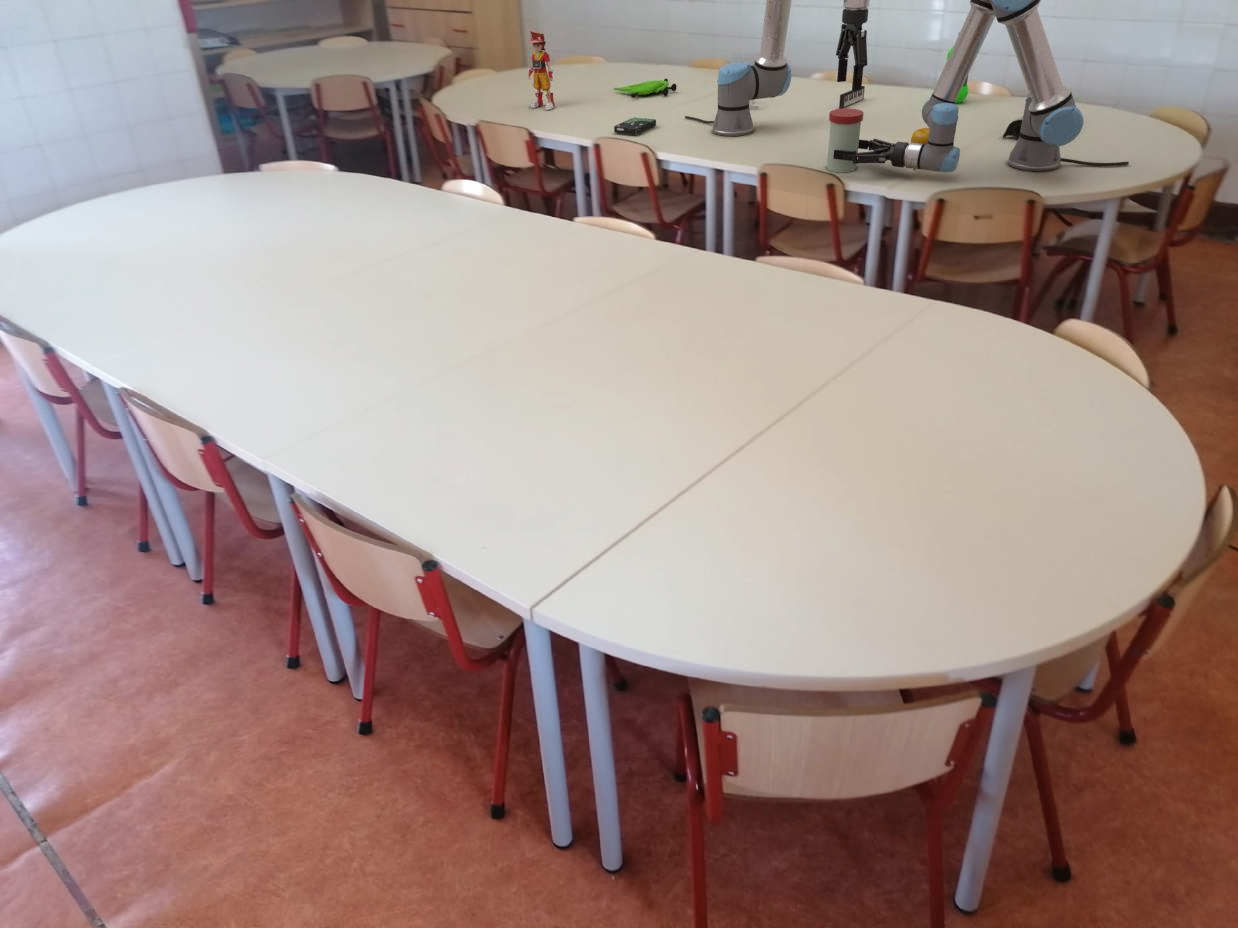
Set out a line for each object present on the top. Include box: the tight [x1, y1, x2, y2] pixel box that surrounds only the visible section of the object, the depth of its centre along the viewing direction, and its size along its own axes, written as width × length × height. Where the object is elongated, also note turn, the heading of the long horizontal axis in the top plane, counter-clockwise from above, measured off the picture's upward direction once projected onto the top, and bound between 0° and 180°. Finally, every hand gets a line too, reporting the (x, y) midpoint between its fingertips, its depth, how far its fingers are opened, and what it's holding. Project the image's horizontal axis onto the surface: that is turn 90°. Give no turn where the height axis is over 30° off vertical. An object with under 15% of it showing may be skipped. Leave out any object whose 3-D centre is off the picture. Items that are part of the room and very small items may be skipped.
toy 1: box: [527, 31, 556, 111], centre depth 374 cm, size 12×9×30 cm
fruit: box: [910, 127, 930, 144], centre depth 303 cm, size 8×8×8 cm
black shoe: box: [1002, 115, 1023, 140], centre depth 316 cm, size 30×9×10 cm
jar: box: [826, 121, 862, 173], centre depth 289 cm, size 9×9×17 cm
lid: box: [828, 108, 864, 124], centre depth 284 cm, size 10×10×2 cm
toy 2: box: [612, 78, 677, 99], centre depth 396 cm, size 28×5×30 cm
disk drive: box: [613, 116, 657, 136], centre depth 344 cm, size 10×3×15 cm
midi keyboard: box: [838, 85, 866, 109], centre depth 359 cm, size 18×1×5 cm, turn 138°
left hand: (848, 85), depth 279 cm, fingers open, 11 cm apart
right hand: (841, 148), depth 290 cm, fingers open, 13 cm apart
